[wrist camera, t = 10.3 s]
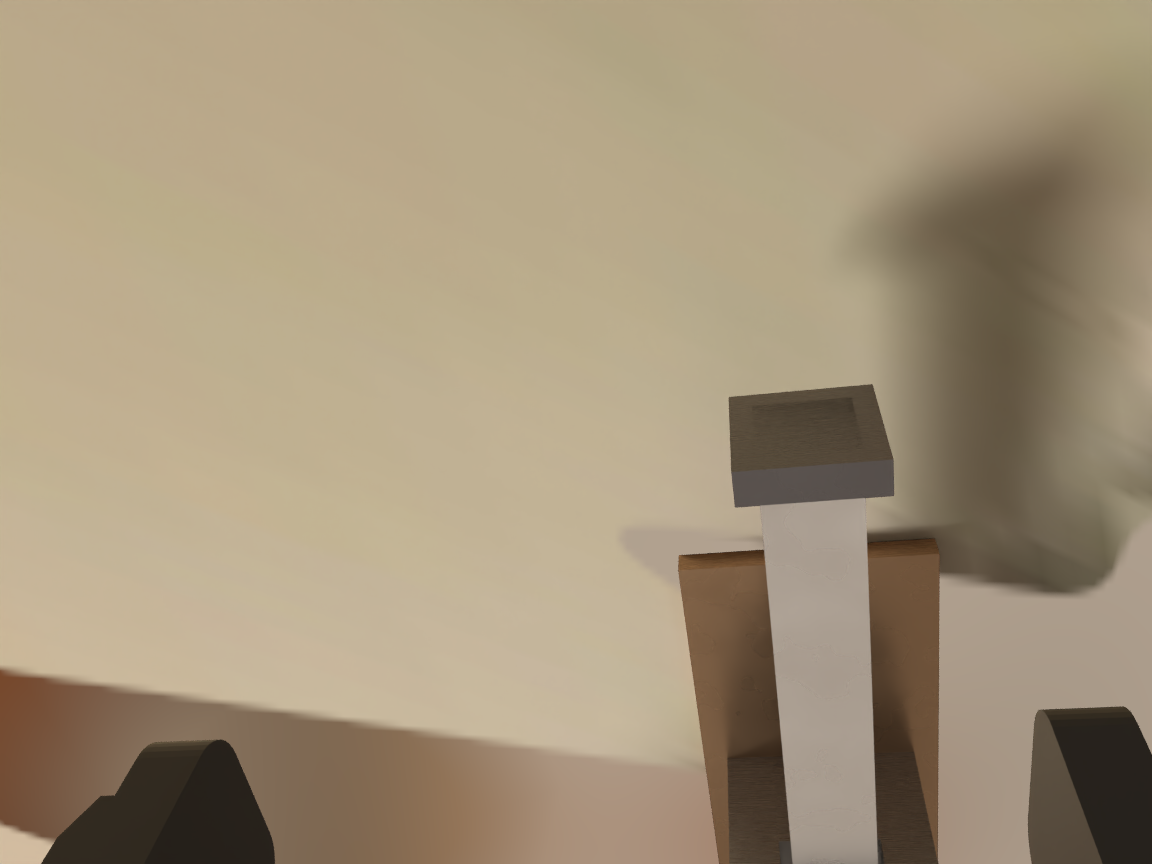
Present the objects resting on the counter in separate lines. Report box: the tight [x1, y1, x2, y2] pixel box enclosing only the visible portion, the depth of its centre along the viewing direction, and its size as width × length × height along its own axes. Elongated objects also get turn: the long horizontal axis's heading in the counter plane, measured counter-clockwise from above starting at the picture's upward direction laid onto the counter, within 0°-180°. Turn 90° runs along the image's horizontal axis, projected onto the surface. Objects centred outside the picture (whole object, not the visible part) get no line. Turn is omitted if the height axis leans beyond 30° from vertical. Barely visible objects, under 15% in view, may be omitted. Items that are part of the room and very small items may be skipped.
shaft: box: [729, 384, 894, 864], centre depth 38 cm, size 4×24×4 cm, turn 9°
